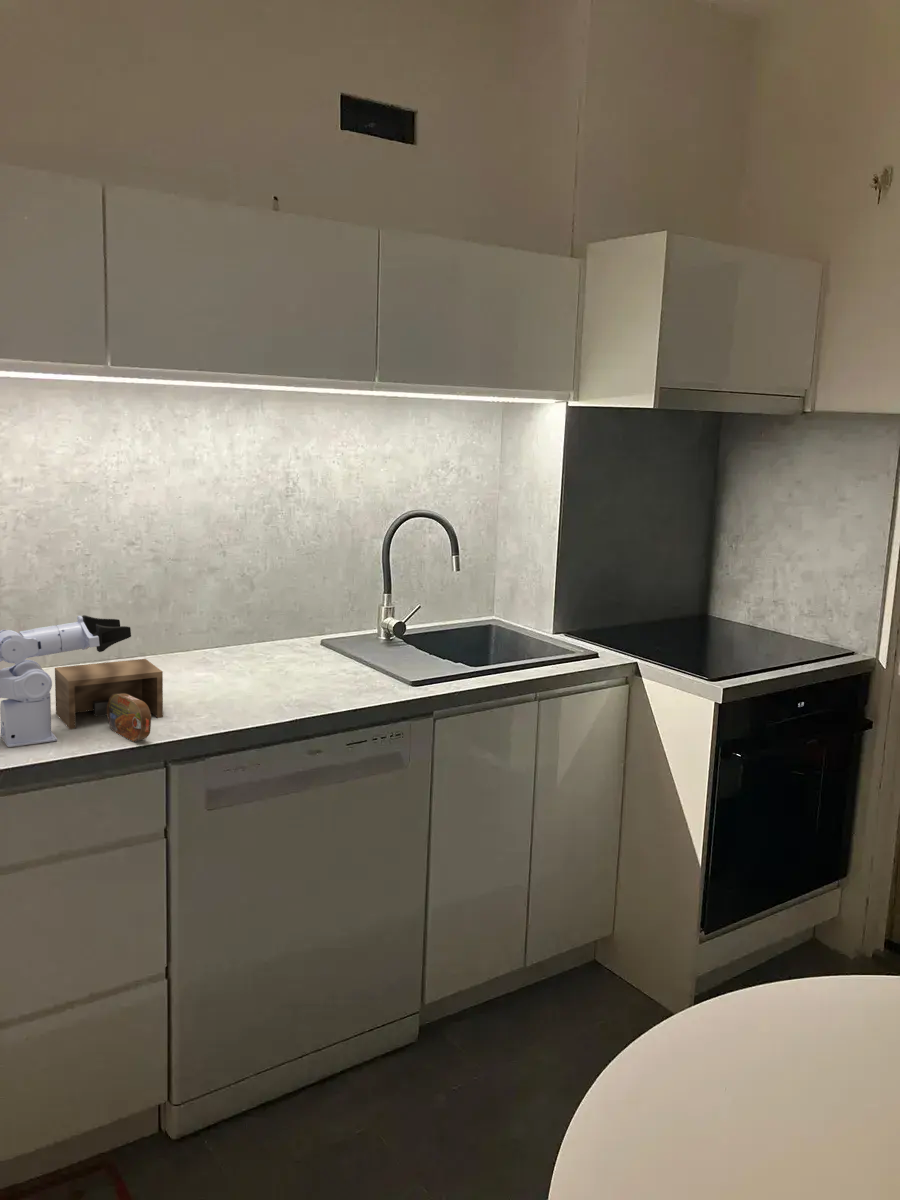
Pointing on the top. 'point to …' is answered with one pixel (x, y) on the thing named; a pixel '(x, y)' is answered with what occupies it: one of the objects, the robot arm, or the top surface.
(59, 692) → the shelf
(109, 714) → the tin
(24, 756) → the top surface
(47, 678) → the robot arm
